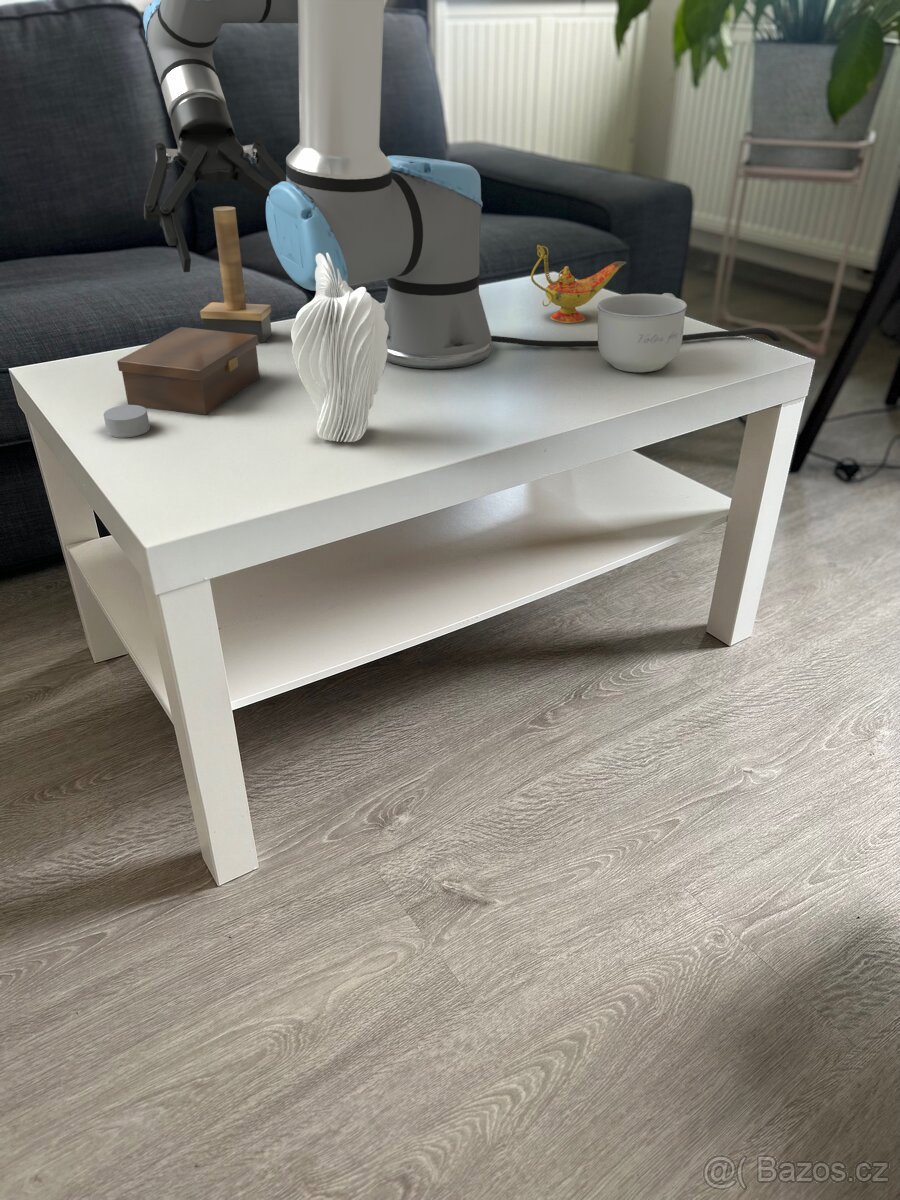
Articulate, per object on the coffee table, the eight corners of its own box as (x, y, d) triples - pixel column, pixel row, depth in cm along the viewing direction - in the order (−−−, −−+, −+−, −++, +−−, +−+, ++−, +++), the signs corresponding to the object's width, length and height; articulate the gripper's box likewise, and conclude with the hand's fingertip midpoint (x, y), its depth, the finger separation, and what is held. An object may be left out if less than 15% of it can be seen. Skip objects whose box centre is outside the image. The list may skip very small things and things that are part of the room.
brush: (273, 333, 128) (261, 206, 119) (264, 343, 124) (251, 212, 115) (214, 331, 129) (198, 204, 120) (204, 340, 125) (186, 210, 116)
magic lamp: (636, 312, 138) (645, 234, 133) (543, 331, 130) (549, 249, 124) (605, 301, 143) (612, 226, 137) (513, 320, 135) (517, 240, 129)
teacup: (641, 386, 112) (649, 319, 108) (574, 363, 119) (580, 299, 114) (710, 361, 120) (720, 299, 115) (643, 342, 126) (651, 281, 122)
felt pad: (116, 423, 96) (120, 441, 97) (154, 412, 98) (157, 429, 99) (95, 412, 98) (99, 429, 99) (132, 401, 101) (136, 418, 102)
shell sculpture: (375, 454, 94) (368, 272, 85) (297, 448, 95) (281, 267, 86) (393, 424, 101) (389, 252, 91) (320, 418, 102) (308, 248, 93)
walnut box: (263, 377, 113) (259, 335, 111) (208, 416, 103) (202, 370, 100) (186, 368, 116) (180, 326, 113) (125, 405, 105) (116, 360, 102)
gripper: (288, 131, 128) (330, 268, 124) (99, 139, 119) (140, 287, 115) (296, 90, 121) (341, 234, 117) (97, 96, 112) (140, 252, 108)
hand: (241, 261), depth 116 cm, fingers open, 13 cm apart
